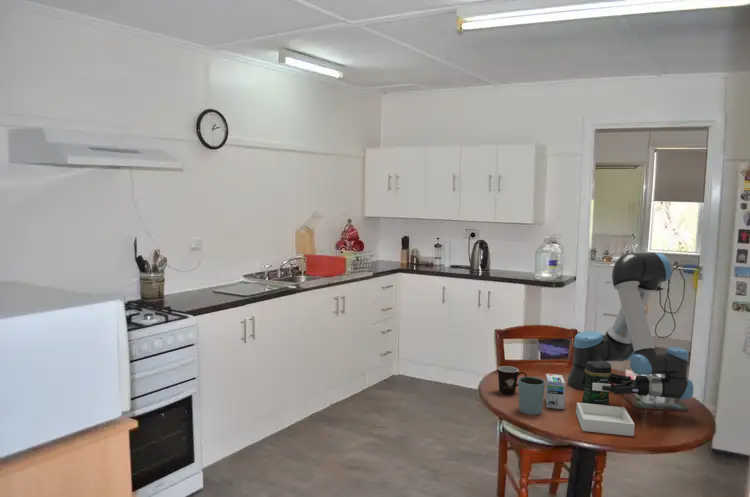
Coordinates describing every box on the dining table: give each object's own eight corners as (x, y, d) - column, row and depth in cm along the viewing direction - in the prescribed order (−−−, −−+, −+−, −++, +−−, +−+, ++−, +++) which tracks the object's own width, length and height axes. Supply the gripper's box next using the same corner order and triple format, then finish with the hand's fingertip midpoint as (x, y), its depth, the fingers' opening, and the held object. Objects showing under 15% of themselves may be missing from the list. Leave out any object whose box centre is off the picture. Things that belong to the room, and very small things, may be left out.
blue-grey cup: (527, 416, 216) (529, 385, 215) (511, 407, 226) (512, 377, 225) (549, 413, 221) (551, 382, 219) (532, 404, 230) (533, 375, 229)
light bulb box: (564, 409, 225) (566, 382, 224) (546, 408, 226) (548, 381, 225) (561, 400, 236) (563, 374, 235) (544, 398, 237) (545, 373, 236)
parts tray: (576, 413, 221) (576, 402, 221) (623, 418, 218) (624, 407, 217) (582, 430, 205) (583, 419, 204) (633, 436, 201) (634, 424, 201)
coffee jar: (589, 411, 224) (592, 364, 222) (579, 404, 232) (581, 358, 230) (612, 410, 225) (615, 364, 224) (601, 403, 233) (604, 358, 232)
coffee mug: (494, 394, 241) (496, 370, 240) (498, 387, 249) (499, 365, 248) (523, 398, 237) (524, 374, 236) (526, 392, 245) (527, 368, 244)
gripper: (655, 406, 212) (594, 401, 216) (639, 385, 236) (584, 380, 241) (657, 386, 211) (595, 381, 216) (640, 367, 236) (585, 362, 240)
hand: (589, 380), depth 228 cm, fingers open, 13 cm apart
